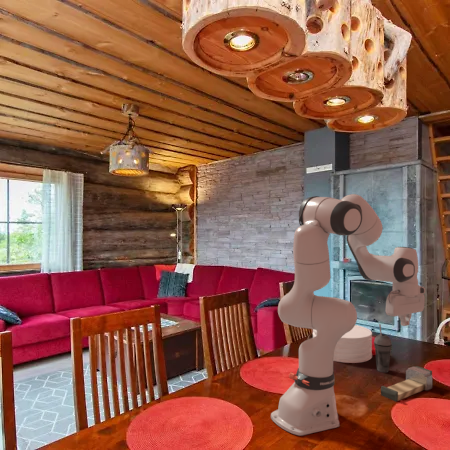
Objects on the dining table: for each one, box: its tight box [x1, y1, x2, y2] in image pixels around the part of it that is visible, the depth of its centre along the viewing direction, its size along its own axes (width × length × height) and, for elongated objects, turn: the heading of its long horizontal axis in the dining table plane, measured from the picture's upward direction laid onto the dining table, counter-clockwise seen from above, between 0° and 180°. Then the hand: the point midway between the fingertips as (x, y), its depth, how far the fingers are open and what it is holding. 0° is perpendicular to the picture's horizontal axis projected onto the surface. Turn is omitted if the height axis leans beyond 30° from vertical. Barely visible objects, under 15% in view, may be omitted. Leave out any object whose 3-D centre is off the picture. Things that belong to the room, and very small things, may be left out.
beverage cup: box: [373, 323, 393, 373], centre depth 158 cm, size 7×7×20 cm
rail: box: [380, 365, 433, 402], centre depth 138 cm, size 24×6×6 cm, turn 123°
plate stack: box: [312, 324, 373, 364], centre depth 181 cm, size 28×28×12 cm
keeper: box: [405, 366, 433, 391], centre depth 142 cm, size 4×8×6 cm, turn 33°
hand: (405, 325), depth 139 cm, fingers closed
